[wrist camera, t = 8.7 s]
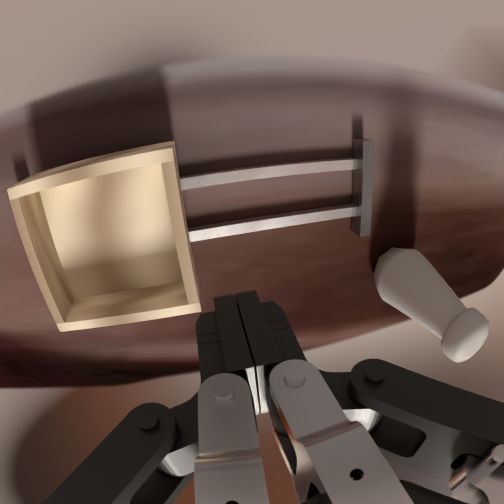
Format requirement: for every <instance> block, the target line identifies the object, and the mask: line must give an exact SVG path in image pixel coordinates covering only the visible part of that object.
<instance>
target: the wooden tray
mask: <svg viewBox="0 0 504 504" xmlns="http://www.w3.org/2000/svg"><path fill="white" fill-rule="evenodd" d="M7 191H8V195H9V199H10V203H11V206H12V210H13V213H14V217H15V220H16V223H17V227H18V230H19V233H20V236H21V239H22V242H23V245H24V248H25V251H26V253H27V256H28V259H29V262H30V264H31V267H32V270H33V272H34V275H35V277H36V280H37V282H38V284H39V287H40V289H41V292H42V294H43V296H44V298H45V301H46V303H47V305H48V307H49V309H50V312H51V314H52V316H53V318H54V320H55V322H56V324H57V326H58V328H59V330H60V332H63V331H71V330H80V329H88V328H96V327H103V326H111V325H118V324H125V323H132V322H139V321H146V320H152V319H159V318H165V317H171V316H178V315H184V314H190V313H196V312H201V306H200V298H199V290H198V282H197V276H196V271H195V266H194V261H193V255H192V250H191V244H190V239H189V233H188V227H187V222H186V216H185V210H184V203H183V197H182V191H181V184H180V178H179V171H178V164H177V157H176V150H175V142H174V141H170V142H164V143H158V144H153V145H148V146H142V147H137V148H132V149H128V150H123V151H118V152H114V153H110V154H105V155H101V156H97V157H93V158H89V159H85V160H81V161H77V162H73V163H70V164H66V165H63V166H59V167H56V168H52V169H49V170H45V171H42V172H39V173H36V174H33V175H31V176H29V177H28V178H26V179H24V180H22V181H20V182H19V183H17V184H15V185H14V186H12V187H10V188H8V189H7Z"/></svg>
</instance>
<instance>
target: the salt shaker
mask: <svg viewBox="0 0 504 504" xmlns="http://www.w3.org/2000/svg"><path fill="white" fill-rule="evenodd" d="M374 279H375V283H376V287H377V290H378V292H379V294H380V296H381V298H382V300H384V301H385V302H387V303H389V304H390V305H392V306H393V307H395V308H397V309H398V310H400V311H401V312H403V313H404V314H406V315H407V316H409V317H410V318H412V319H413V320H415V321H416V322H418V323H419V324H421V325H422V326H424V327H425V328H426V329H428V330H429V331H431V332H432V333H434V334H435V335H437V336H438V337H440V338H441V339H442V340H441V346H442V350H443V352H444V353H445V354H446V356H447V357H448V358H450V359H451V360H452V361H455V362H462V361H465V360H467V359H469V358H470V357H471V356H472V355H474V354H475V353H476V352H477V351H478V349H479V348H480V347H481V346H482V344H483V343H484V341H485V340H486V337H487V335H488V331H489V321H488V320H487V319H486V317H485V316H484V315H483V314H482V313H480V312H479V311H478V310H477V309H475V308H468V309H466V307H465V306H464V305H463V303H462V302H461V301H460V299H459V298H458V297H457V296H456V294H455V293H454V292H453V291H452V289H451V288H450V287H449V286H448V284H447V283H446V282H445V281H444V279H443V278H442V277H441V276H440V275H439V273H438V272H437V271H436V270H435V269H434V267H433V266H432V265H431V264H430V263H429V262H428V260H427V259H426V258H425V257H424V256H423V255H422V254H420V253H419V252H418V251H417V250H414V249H401V248H394V247H392V248H391V249H389V250H388V251H387V252H385V253H384V254H383V255H381V256H380V257H379V258H378V261H377V264H376V267H375V271H374Z"/></svg>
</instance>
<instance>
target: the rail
mask: <svg viewBox="0 0 504 504" xmlns="http://www.w3.org/2000/svg"><path fill="white" fill-rule="evenodd" d="M373 165H374V141H373V140H369V139H365V138H353V158H336V159H322V160H309V161H298V162H287V163H277V164H268V165H259V166H251V167H243V168H235V169H227V170H220V171H213V172H206V173H200V174H193V175H187V176H181V177H179V178H180V184H181V190H185V189H191V188H197V187H204V186H210V185H217V184H224V183H231V182H238V181H245V180H253V179H261V178H269V177H278V176H287V175H296V174H306V173H316V172H327V171H339V170H352V169H353V188H352V204H347V205H339V206H332V207H324V208H317V209H309V210H302V211H295V212H288V213H281V214H274V215H267V216H261V217H254V218H248V219H241V220H235V221H228V222H222V223H216V224H210V225H204V226H198V227H192V228H188V233H189V239H190V242H193V241H199V240H205V239H211V238H217V237H223V236H229V235H235V234H241V233H247V232H254V231H260V230H266V229H273V228H279V227H285V226H292V225H298V224H305V223H311V222H318V221H325V220H332V219H338V218H345V217H352V218H351V230H352V231H353V232H354V233H355V234H357V235H358V236H359V237H363V236H369V235H370V226H371V212H372V194H373Z"/></svg>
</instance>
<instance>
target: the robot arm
mask: <svg viewBox="0 0 504 504" xmlns="http://www.w3.org/2000/svg"><path fill="white" fill-rule="evenodd" d="M213 299H214V305H215V311H214V312H208V313H202V314H200V316H199V318H198V320H197V322H196V334H197V344H198V355H199V365H200V374H201V385H200V388H199V390H198V392H197V393H196V394H195V395H194V396H193V397H192V398H191V399H190V400H188V401H187V402H185V403H183V404H180V405H178V406H175V407H173V408H171V409H169V408H168V407H166V406H164V405H162V404H158V403H145V404H142V405H139V406H137V407H135V408H134V409H133V410H132V411H130V412H129V413H128V415H127V416H126V417H125V418H124V419H123V420H122V421H121V422H120V423H119V424H118V425H117V426H116V427H115V428H114V429H113V430H112V432H111V433H110V434H109V435H108V436H107V437H106V438H105V439H104V440H103V441H102V442H101V443H100V444H99V446H97V447H96V448H95V449H94V451H92V453H91V454H90V455H89V456H88V457H87V458H86V459H85V460H84V461H83V462H82V463H81V464H80V465H79V466H78V467H77V468H76V469H75V470H74V471H73V472H72V473H71V474H70V475H69V476H68V477H67V478H66V480H64V481H63V483H62V484H61V485H60V486H59V487H58V488H57V489H56V490H55V491H54V492H53V493H52V494H51V495H50V496H49V497H48V498H47V499H46V500H45V501H44V502H43V503H42V504H173V503H174V502H175V500H176V499H177V498H178V496H179V495H180V494H181V492H182V491H183V490H184V489H185V487H186V486H187V485H188V483H189V482H190V481H191V479H192V478H193V477H194V480H195V503H196V504H269V499H268V493H267V488H266V482H265V476H264V471H263V465H262V460H261V454H260V449H259V443H258V437H257V434H258V427H257V420H256V415H257V414H259V407H258V403H259V406H260V410H261V413H266V412H269V414H270V417H271V420H272V427H273V433H274V436H275V438H276V441H277V443H278V446H279V448H280V450H281V453H282V455H283V457H284V460H285V462H286V465H287V467H288V469H289V472H290V474H291V476H292V479H293V482H294V486H295V490H296V494H297V496H298V499H299V501H300V504H504V403H502V402H499V401H496V400H493V399H490V398H487V397H484V396H481V395H478V394H474V393H472V392H469V391H466V390H463V389H460V388H457V387H454V386H451V385H448V384H446V383H443V382H440V381H437V380H434V379H432V378H429V377H426V376H423V375H421V374H418V373H415V372H413V371H410V370H407V369H405V368H402V367H399V366H397V365H394V364H391V363H389V362H386V361H383V360H380V359H366V360H363V361H361V362H359V363H357V364H356V365H355V366H354V367H353V369H352V370H351V372H325V371H321V370H319V369H317V368H316V367H315V366H314V365H313V364H311V363H309V362H308V361H307V360H306V358H305V356H304V354H303V352H302V349H301V347H300V345H299V343H298V341H297V339H296V337H295V334H294V332H293V330H292V329H291V326H290V324H289V322H288V320H287V317H286V315H285V313H284V311H283V309H282V308H281V307H280V306H278V305H277V304H276V303H274V302H273V301H270V302H265V303H260V300H259V298H258V295H257V292H256V290H252V291H246V292H240V293H235V297H234V294H229V295H223V296H217V297H213ZM235 300H236V301H235ZM385 458H386V459H388V460H390V461H393V462H396V463H398V464H400V465H403V466H405V467H408V468H411V469H413V470H416V471H419V472H421V473H424V474H427V475H430V476H432V477H435V478H438V479H441V480H444V481H447V482H449V486H450V495H451V496H452V497H453V498H451V497H448V496H445V495H442V494H440V493H437V492H434V491H432V490H429V489H427V488H424V487H422V486H419V485H417V484H414V483H412V482H408V481H404V480H399V479H398V478H397V477H396V475H395V473H394V472H393V470H392V469H391V467H390V466H389V464H388V462H387V461H386V459H385ZM454 498H457V499H459V500H461V501H459V500H456V499H454ZM462 501H463V502H462Z"/></svg>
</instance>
